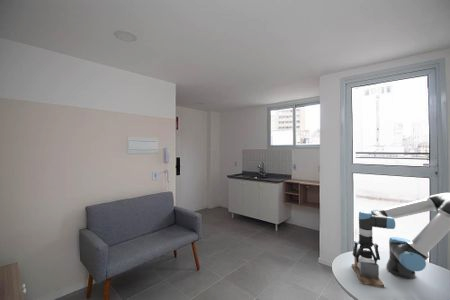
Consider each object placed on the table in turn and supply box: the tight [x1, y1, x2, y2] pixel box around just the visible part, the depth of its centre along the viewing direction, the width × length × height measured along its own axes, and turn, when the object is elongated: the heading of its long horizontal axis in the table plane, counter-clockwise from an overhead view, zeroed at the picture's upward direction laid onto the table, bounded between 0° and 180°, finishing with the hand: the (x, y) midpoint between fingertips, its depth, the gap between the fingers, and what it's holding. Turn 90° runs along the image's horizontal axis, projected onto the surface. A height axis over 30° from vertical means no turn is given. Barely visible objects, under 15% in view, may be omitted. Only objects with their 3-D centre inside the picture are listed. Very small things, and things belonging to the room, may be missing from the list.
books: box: [353, 248, 370, 267], centre depth 143 cm, size 10×2×12 cm, turn 72°
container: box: [359, 249, 375, 269], centre depth 136 cm, size 8×8×13 cm
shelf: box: [351, 263, 385, 288], centre depth 135 cm, size 12×21×2 cm, turn 162°
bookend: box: [360, 262, 380, 280], centre depth 131 cm, size 10×2×9 cm, turn 72°
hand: (366, 268), depth 136 cm, fingers closed on container, 8 cm apart
